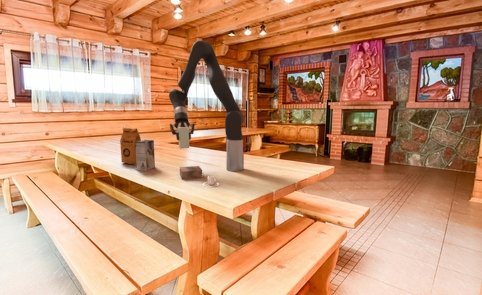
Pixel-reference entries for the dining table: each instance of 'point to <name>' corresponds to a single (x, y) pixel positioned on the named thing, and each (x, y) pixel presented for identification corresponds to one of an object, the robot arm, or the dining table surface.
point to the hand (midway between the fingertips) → (184, 139)
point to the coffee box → (145, 154)
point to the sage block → (183, 137)
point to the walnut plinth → (190, 172)
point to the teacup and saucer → (211, 181)
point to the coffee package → (129, 145)
